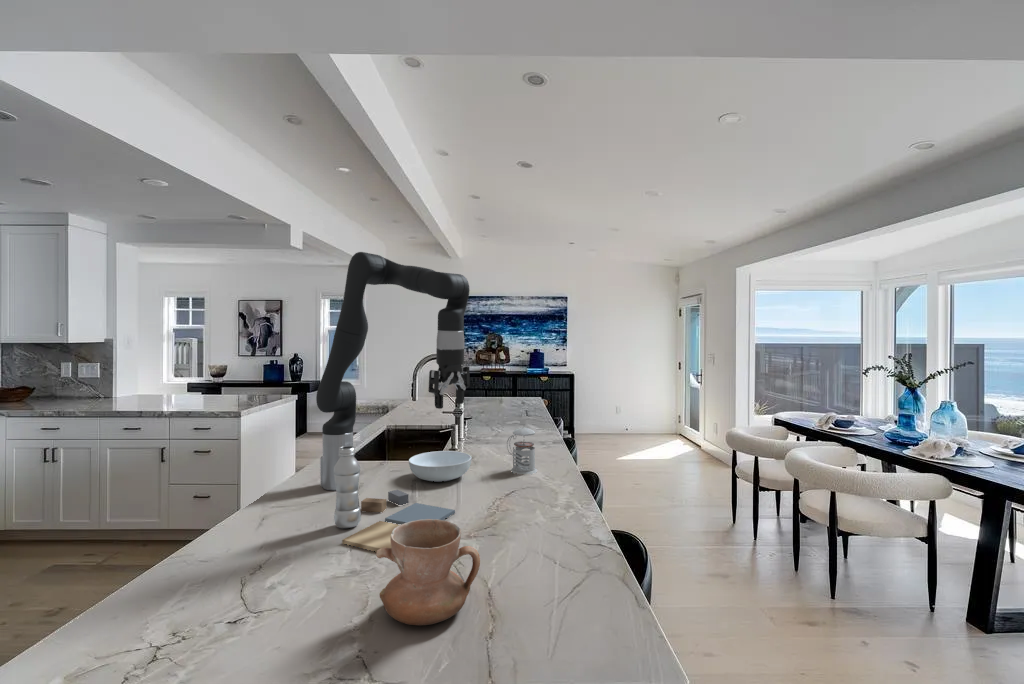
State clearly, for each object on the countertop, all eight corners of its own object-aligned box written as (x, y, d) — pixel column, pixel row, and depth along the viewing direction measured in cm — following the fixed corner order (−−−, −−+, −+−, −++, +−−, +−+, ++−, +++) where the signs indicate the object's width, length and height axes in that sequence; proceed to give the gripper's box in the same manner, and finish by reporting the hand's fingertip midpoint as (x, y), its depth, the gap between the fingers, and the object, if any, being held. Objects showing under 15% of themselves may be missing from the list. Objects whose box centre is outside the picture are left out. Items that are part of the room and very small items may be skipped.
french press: (528, 476, 172) (528, 403, 171) (500, 471, 178) (500, 400, 177) (542, 469, 180) (542, 399, 179) (515, 465, 186) (515, 397, 186)
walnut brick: (361, 512, 138) (361, 501, 138) (366, 508, 141) (366, 497, 141) (381, 513, 137) (381, 502, 137) (386, 509, 140) (386, 499, 140)
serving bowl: (420, 468, 182) (420, 449, 182) (477, 470, 179) (477, 451, 179) (399, 486, 161) (399, 464, 161) (463, 488, 158) (463, 467, 158)
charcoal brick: (388, 502, 146) (388, 491, 146) (397, 499, 148) (397, 489, 148) (399, 507, 142) (399, 496, 142) (408, 504, 144) (408, 494, 144)
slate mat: (385, 522, 130) (385, 518, 130) (415, 506, 142) (415, 502, 142) (426, 530, 125) (426, 526, 125) (454, 513, 136) (454, 509, 136)
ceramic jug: (367, 638, 81) (369, 550, 80) (382, 591, 95) (383, 516, 95) (480, 634, 82) (482, 548, 82) (478, 588, 97) (479, 515, 96)
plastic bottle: (366, 523, 129) (366, 445, 129) (349, 533, 123) (349, 451, 123) (345, 520, 132) (345, 444, 131) (328, 529, 125) (327, 449, 125)
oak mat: (342, 543, 117) (342, 539, 117) (379, 524, 128) (379, 520, 128) (386, 554, 111) (386, 550, 111) (421, 533, 123) (421, 529, 123)
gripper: (457, 344, 145) (456, 400, 147) (421, 347, 134) (421, 408, 135) (477, 346, 141) (476, 403, 142) (442, 349, 129) (442, 411, 131)
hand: (449, 405), depth 139 cm, fingers open, 8 cm apart
